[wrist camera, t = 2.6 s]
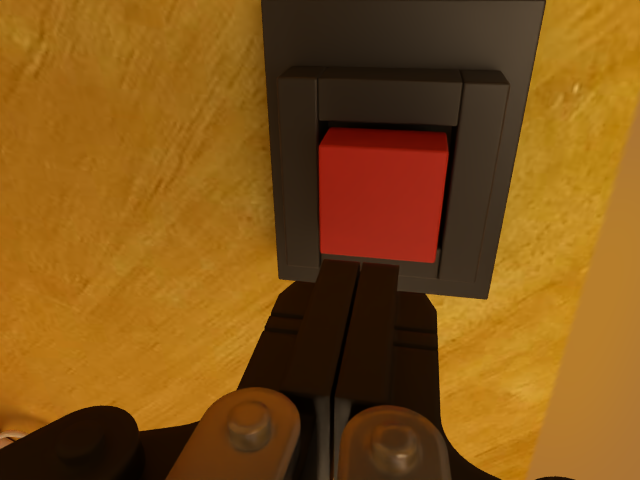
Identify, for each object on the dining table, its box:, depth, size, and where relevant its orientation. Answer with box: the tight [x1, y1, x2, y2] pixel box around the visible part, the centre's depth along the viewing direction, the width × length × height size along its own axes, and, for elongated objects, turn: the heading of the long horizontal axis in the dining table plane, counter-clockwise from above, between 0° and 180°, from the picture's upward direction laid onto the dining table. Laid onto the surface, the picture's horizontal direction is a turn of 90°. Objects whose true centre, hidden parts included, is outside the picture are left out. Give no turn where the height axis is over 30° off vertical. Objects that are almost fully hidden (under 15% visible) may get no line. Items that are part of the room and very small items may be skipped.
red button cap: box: [319, 127, 449, 263], centre depth 14 cm, size 3×3×2 cm
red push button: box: [261, 0, 546, 299], centre depth 16 cm, size 10×8×4 cm
